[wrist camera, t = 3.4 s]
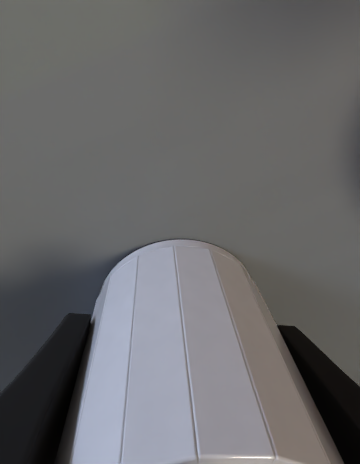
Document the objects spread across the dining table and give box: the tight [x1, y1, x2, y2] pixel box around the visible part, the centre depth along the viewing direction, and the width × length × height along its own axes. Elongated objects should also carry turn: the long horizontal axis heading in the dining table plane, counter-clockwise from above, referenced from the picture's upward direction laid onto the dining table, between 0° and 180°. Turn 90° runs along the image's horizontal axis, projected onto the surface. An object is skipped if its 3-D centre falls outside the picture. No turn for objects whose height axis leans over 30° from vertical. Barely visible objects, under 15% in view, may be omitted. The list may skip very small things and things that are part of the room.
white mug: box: [54, 239, 344, 464], centre depth 9 cm, size 8×6×6 cm
